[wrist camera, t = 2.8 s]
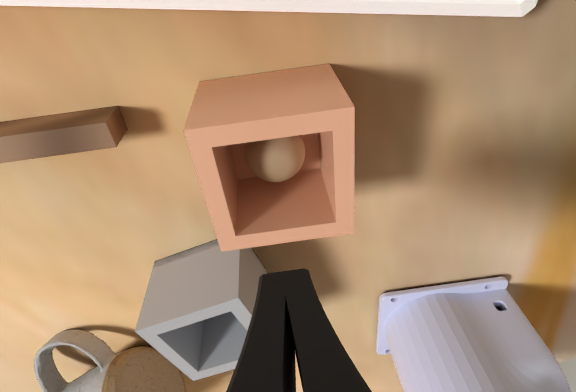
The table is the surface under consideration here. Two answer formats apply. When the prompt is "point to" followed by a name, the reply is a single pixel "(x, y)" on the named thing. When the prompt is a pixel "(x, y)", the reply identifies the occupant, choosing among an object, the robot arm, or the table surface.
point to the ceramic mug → (108, 367)
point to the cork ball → (275, 158)
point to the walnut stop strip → (61, 134)
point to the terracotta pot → (270, 125)
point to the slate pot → (201, 307)
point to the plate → (312, 6)
